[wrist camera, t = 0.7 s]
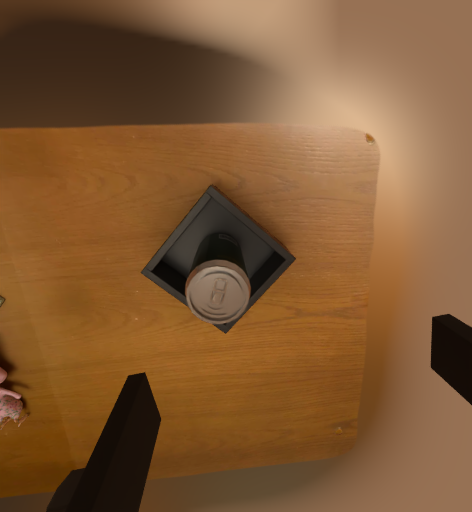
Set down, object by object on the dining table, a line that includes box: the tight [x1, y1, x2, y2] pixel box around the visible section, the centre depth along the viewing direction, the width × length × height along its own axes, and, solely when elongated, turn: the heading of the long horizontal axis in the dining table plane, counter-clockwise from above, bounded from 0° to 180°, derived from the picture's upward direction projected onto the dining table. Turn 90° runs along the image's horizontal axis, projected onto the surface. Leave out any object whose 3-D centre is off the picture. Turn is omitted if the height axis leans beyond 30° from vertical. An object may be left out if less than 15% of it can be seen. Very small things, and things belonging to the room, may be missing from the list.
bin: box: [141, 184, 296, 333], centre depth 31 cm, size 12×12×5 cm
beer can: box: [185, 233, 251, 324], centre depth 27 cm, size 5×5×12 cm
